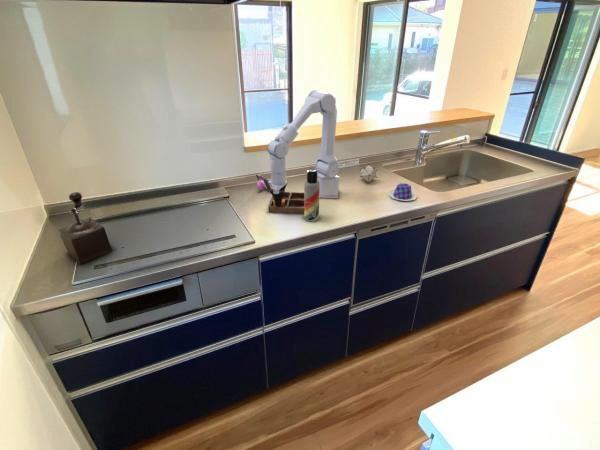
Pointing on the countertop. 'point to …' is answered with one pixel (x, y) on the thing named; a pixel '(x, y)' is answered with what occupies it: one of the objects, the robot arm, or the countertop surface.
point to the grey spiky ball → (368, 173)
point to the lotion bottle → (311, 196)
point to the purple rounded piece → (260, 183)
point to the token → (281, 204)
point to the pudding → (403, 192)
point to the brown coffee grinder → (84, 235)
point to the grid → (289, 204)
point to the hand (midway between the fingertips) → (279, 202)
